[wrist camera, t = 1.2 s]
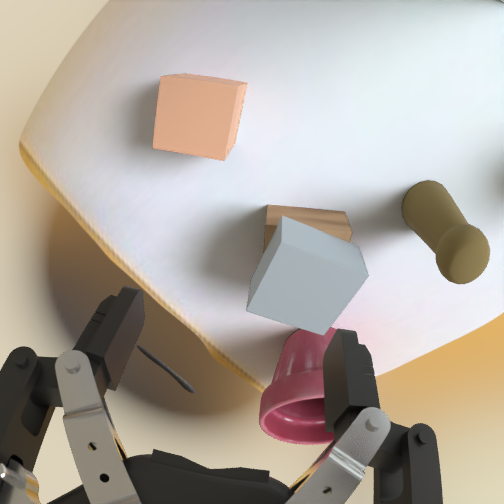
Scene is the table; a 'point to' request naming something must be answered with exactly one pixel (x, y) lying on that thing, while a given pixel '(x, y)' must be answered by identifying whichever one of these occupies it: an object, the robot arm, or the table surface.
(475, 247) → the cork
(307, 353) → the plant pot
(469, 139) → the table surface
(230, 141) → the cube
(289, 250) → the top block
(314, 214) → the bottom block
